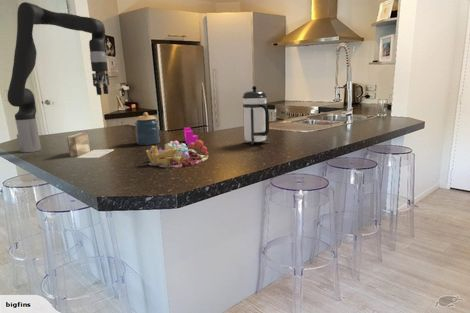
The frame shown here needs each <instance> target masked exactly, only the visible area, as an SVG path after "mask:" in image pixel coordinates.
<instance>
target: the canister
mask: <svg viewBox="0 0 470 313" xmlns="http://www.w3.org/2000/svg"><path fill="white" fill-rule="evenodd" d="M135 120H136V122H135V123H134V125H135V136H136V143H137V145H139V146H153V145H157V144H159V143H160V141H161V138H160V131H159V130H160V129H159V125H158V124H159V121H157V117H156V116H154V115H149V113H148V112H146V111H145V112H143V114H142V115H139V116H138V117H137V118H135Z"/></svg>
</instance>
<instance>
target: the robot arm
mask: <svg viewBox="0 0 470 313" xmlns="http://www.w3.org/2000/svg"><path fill="white" fill-rule="evenodd" d="M16 14H17V18H16V21H17V22H16V24H17V25H16V26H17V27H16V28H17V29H16V41H15V49H14V54H13V66H12V73H11V77H10V82H9V87H8V90H7V102H8V103H9V105H11V106H13V107H17V108H18V111H17V112H16V113H15V114H14V120H15V125H16V129H17V133H16V139H17V145H18V148H19V149H18V150H19V152H20V153H33V152H39V151H41V150H42V146H41V140H40V135H39V129H38V124H37V117H36V113H37V108H36V107H37V106H36V99H35V98H36V97H35V95H34V93H33V91H32V90H31V89H29V88H27V87H26V83H27V81H28V79H29V77H30V75H31V74H32V72H33V70H34V68H35V66H36V60H37V54H38V53H37V49H36V48H37V47H36V45H35V42H34V38H33V34H34V31H33V29H34V25H35V26H36V25H44V26H45V25H49V26H56V27H60V28H63V29H66V30H67V29H69V30H73V31H77V32H78V31H79V32H83V33H84V32H85V33H89V34H91V39H90V40H89V41H88V45H89V46H88V48H89V53H90V54H89V56H90V58H89V59H90V64H91V71H92V72H94V73H92V75H91V76H92V84H93V87H94V88H95V89H96V95H97V96H100V95H103V94H104V95H107V94H109V86H110V79H109V74H108V72H107V71H108V70H109V69H108V59H107V53H106V46H105V40H106V29H105V25H104V23H103V21H101V20H99V19H97V18H93V17H88V16H82V15H76V14H71V13H66V12H56V11H51V10H48V9H46V8H44V7H41V6H39V5H37V4H34V3H31V2H28V1H27V2H25V1H24V2H21V3H20V4H19V5H18V7H17V13H16ZM106 72H107V73H106ZM102 90H103V93H102Z"/></svg>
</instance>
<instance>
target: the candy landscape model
mask: <svg viewBox="0 0 470 313" xmlns="http://www.w3.org/2000/svg"><path fill="white" fill-rule="evenodd" d="M150 146H151V148H150V149H146V150H145V152H146V155H147V157H148V159H149V163H148V165H149V166H158V167H161V168H176V169H177V168H181V167H185V168H187V166H196V165H197V164H199V163H200V162H204V161H206V160H208V158H209V151H208V148H207V147H206V146H205V145H204V142H203V140H201V139H198V140H197V141H195V143H190V144H189V145H186V143H183V142H181V143H180V142H179V141H178V140H174V141H172V140H170V141H169V142H168V143H165V144H164V149H162V147H159V148H158V145H157V144H155V145H150ZM194 148H195V149H198V150H200V151H201V152H202V153H204V155H203V154H198V152H197V151H196V150H195V149H194Z"/></svg>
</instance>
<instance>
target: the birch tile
mask: <svg viewBox="0 0 470 313" xmlns="http://www.w3.org/2000/svg"><path fill="white" fill-rule="evenodd" d="M66 142H67V148H68V152H69V157H70V156H71V157H73V156H74V157H75V156H77V157H79V156H81V155H84V154H86V153H88V152H90V151H91V149H90V143H89V142H90V140H89V136H88V132H79V133H76V134H72V135H69V136H66ZM71 157H70V158H71Z"/></svg>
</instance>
